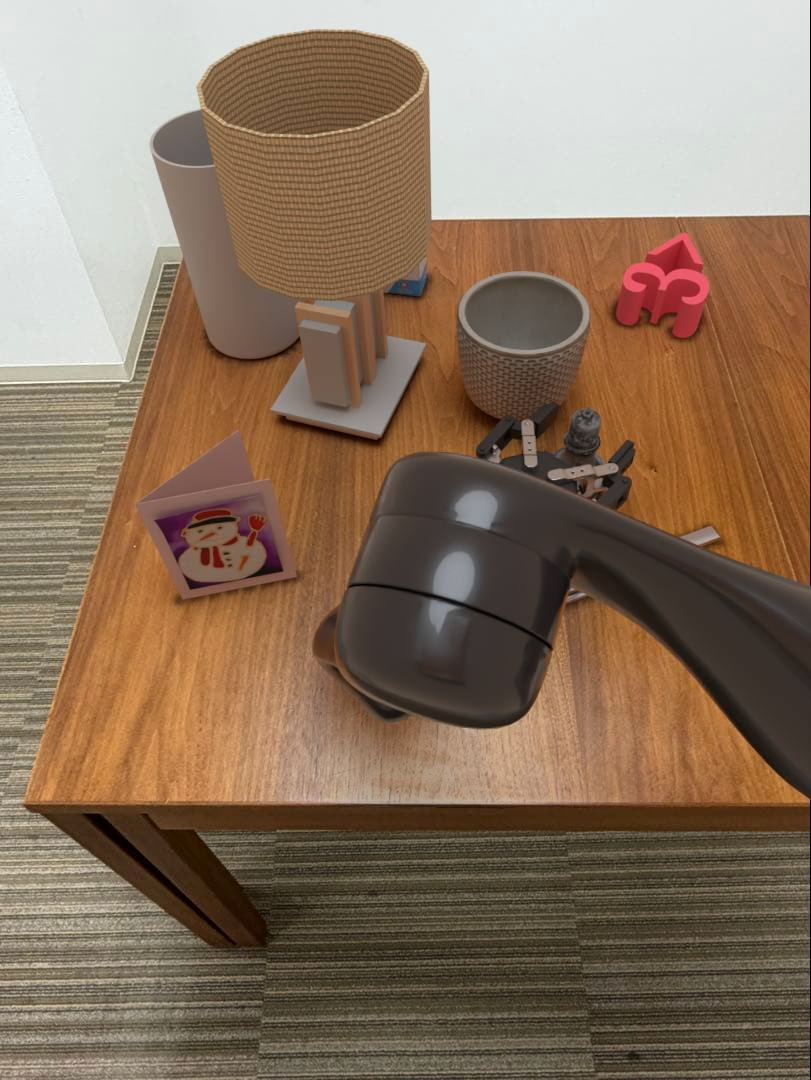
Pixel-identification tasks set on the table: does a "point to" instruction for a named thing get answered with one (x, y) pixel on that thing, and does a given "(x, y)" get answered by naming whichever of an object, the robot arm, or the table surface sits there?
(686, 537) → the fork
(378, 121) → the desk lamp
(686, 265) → the letters
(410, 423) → the table surface
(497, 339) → the planter
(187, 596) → the greeting card
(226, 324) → the cylinder vase
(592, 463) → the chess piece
